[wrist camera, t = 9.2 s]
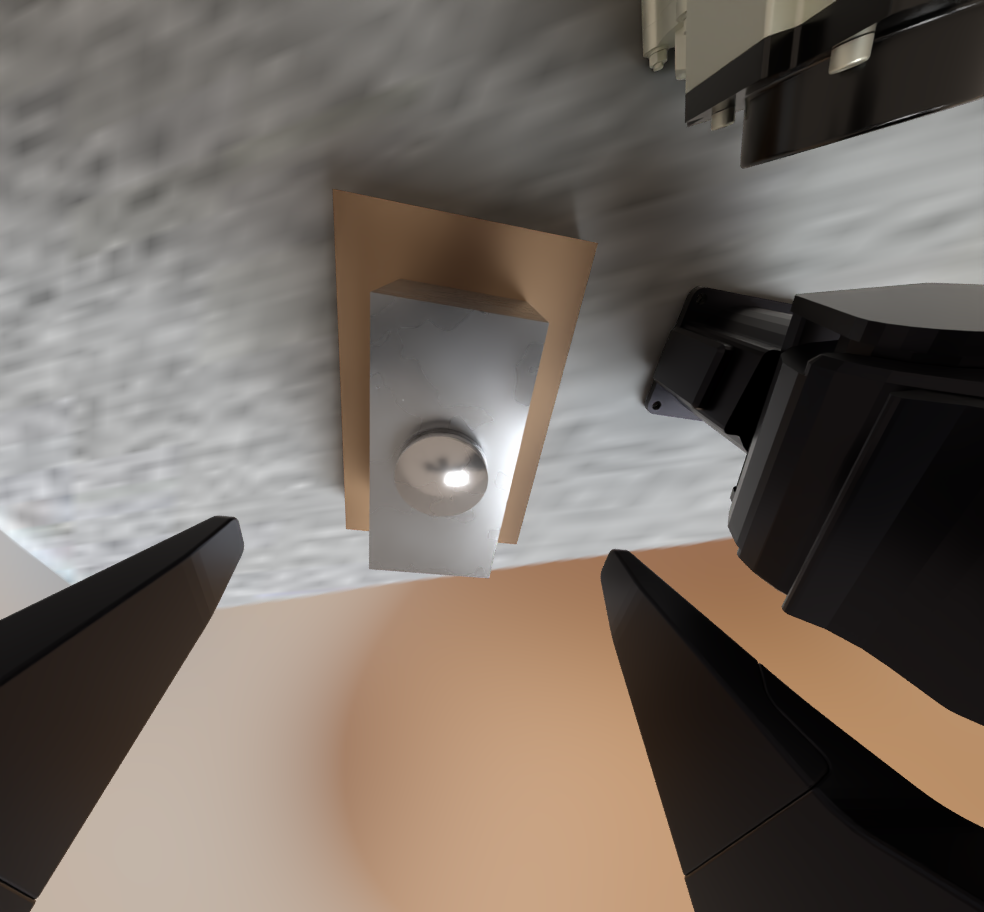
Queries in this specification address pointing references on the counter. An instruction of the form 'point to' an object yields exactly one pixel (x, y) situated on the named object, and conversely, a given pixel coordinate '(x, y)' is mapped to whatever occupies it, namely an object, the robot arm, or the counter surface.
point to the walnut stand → (456, 264)
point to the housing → (445, 422)
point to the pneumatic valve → (816, 65)
